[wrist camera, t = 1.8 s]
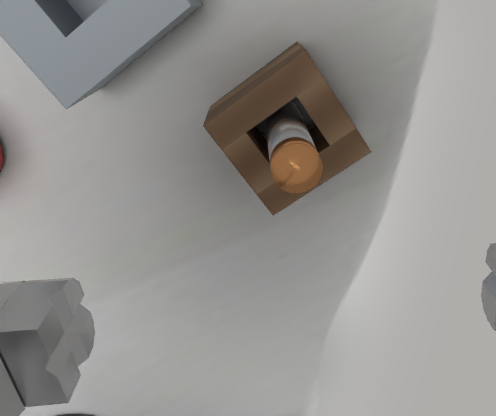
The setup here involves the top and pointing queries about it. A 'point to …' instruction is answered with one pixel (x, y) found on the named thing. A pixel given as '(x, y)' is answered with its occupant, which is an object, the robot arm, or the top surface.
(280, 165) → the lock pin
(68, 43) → the dock
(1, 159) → the beer can
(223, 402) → the top surface
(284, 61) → the mount
